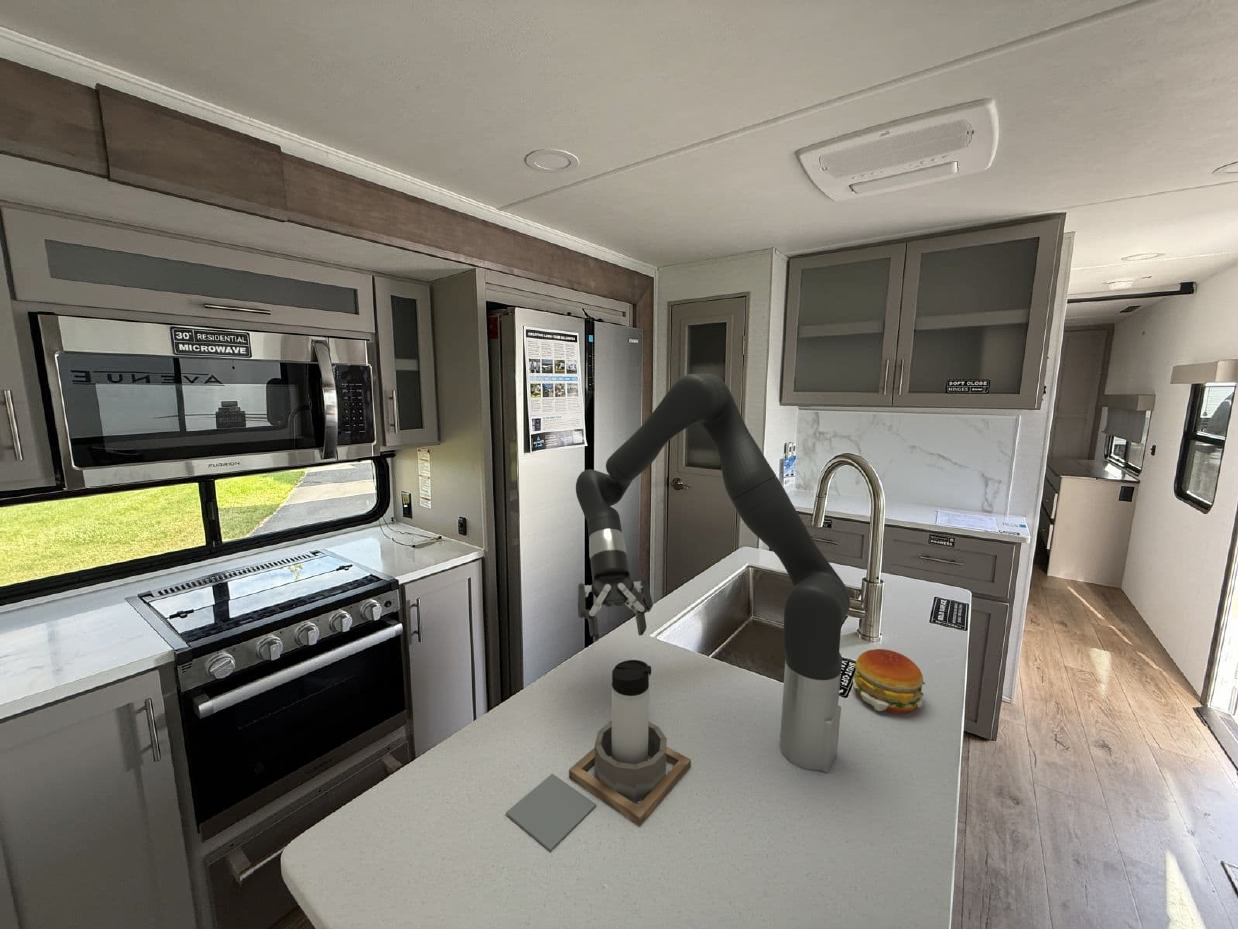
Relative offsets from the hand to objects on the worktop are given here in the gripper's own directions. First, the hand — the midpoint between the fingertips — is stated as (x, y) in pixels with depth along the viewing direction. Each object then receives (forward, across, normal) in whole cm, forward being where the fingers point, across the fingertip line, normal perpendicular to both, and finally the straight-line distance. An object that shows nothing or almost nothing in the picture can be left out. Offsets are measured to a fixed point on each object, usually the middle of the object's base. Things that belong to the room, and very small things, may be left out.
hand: (619, 636), depth 94 cm
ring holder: (+21, 0, +6) cm, 22 cm away
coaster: (+25, -14, +3) cm, 29 cm away
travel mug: (+22, 0, +7) cm, 23 cm away
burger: (+15, +58, +13) cm, 61 cm away
